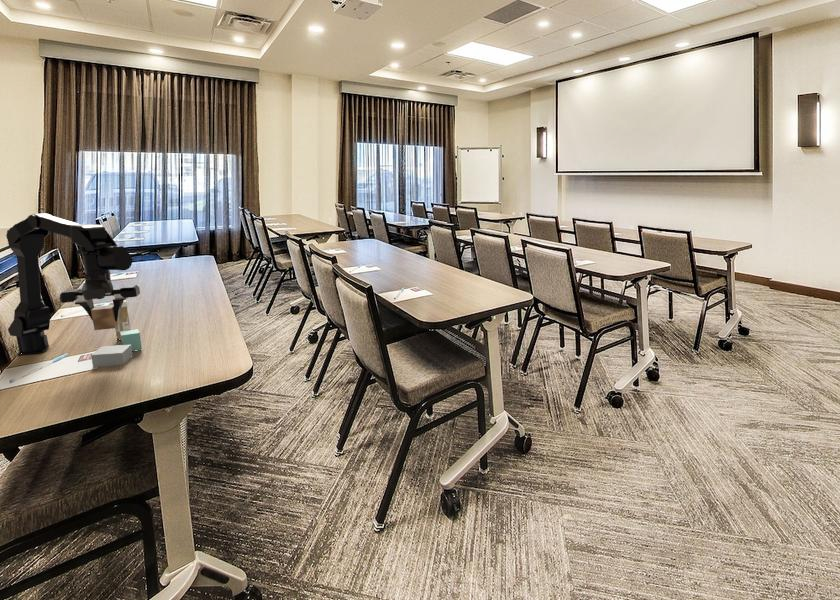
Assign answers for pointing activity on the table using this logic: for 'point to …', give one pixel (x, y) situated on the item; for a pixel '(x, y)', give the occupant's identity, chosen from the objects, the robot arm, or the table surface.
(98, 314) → the walnut block
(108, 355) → the grey slab
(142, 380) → the table surface
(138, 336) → the teal block
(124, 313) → the sprinkles bottle
